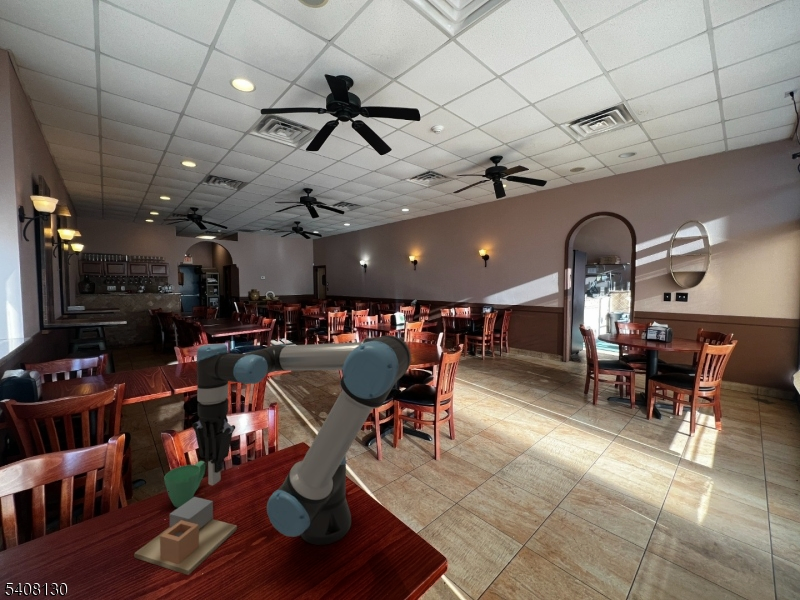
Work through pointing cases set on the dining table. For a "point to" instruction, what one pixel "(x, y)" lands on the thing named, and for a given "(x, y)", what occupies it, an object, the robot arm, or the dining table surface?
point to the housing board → (208, 543)
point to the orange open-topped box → (179, 542)
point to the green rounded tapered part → (184, 482)
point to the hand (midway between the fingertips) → (214, 482)
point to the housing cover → (193, 512)
